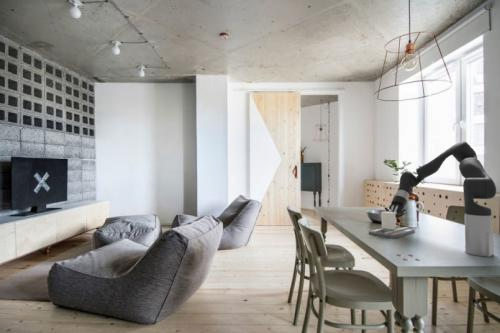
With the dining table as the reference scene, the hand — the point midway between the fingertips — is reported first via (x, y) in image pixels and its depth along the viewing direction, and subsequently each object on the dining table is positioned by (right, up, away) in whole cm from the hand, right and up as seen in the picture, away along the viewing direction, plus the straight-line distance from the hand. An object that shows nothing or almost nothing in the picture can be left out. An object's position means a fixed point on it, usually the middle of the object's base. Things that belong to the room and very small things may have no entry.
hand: (390, 221), depth 165 cm
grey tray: (+1, -6, 0) cm, 7 cm away
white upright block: (-2, -5, -2) cm, 6 cm away
